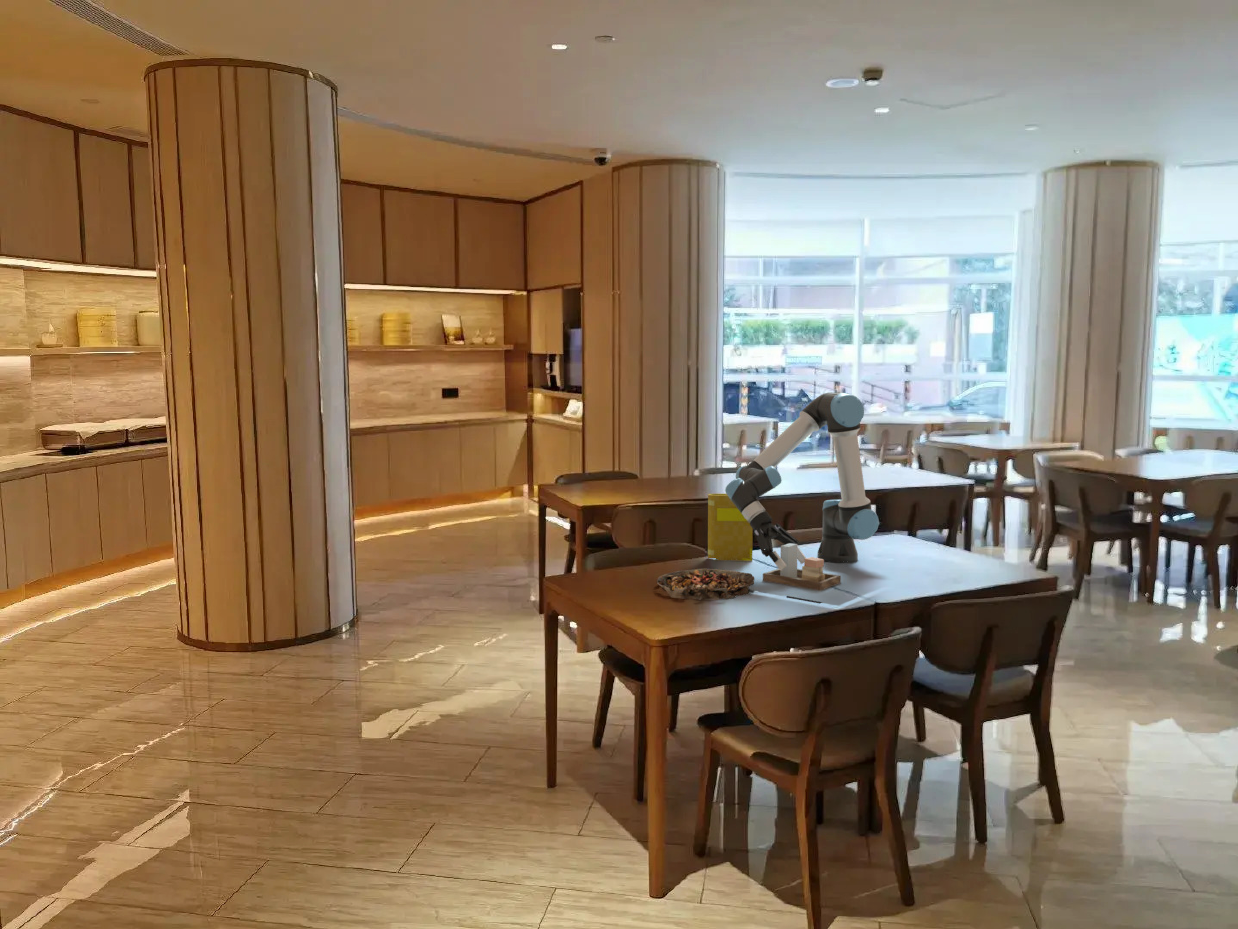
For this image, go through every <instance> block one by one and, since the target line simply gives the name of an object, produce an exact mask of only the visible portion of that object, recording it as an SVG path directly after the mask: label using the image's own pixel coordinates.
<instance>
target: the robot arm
mask: <svg viewBox="0 0 1238 929" xmlns="http://www.w3.org/2000/svg"><path fill="white" fill-rule="evenodd" d="M864 414H865V408H864V404H863V402H862V401H861V399H860V398H859V397H857V396H855V395H854V394H851V393H848V392H847V393H846V392H825V393H822V394H821V395H819V396H818V397H816V398H815V399H813V400H812V401H810V402H809V403H808V404H807V405H806V406H805V407H804V408H803V409H802V410H801V411H799V417H797V418H796V419H795V420H794V421H793V422H792V423H791V424H790V425H789V426H788V427H787V428H786V429H785V430H784V431H783V432H781V433H780V434H779V435H778V436H777V437H776V438H775V439H774V440H773V441H772V442H771V443H770V444H769V445H767V447H766V448H764V449H763V451H761V452H760V453H759V454H758V455H757V456H756V457H755V458H754V459H753V460H752V461H750V463H748V465H743V466H740V467H739V468H738V469H737V470H736V472H735V479H733V480H731V481H730V482H729V483H728V484H727V485H726V487H725V490H724V491H725V494H727V495H728V497H729V498H730V500H731V501H732V502H733V503H734V505H735V506H736V507H737V508H738V510H739V511H740V512H741V514H742V515H743V516H744V518H745V519H746V520H747V521H748V522H750V526H751V527H752V528H753V531H754V532H753V535H754V536H755V538H756V541H757V543H758V546H759V549H760V551H761V554H762V555H764V556H765V557H766V558H767V557H768V556H769V558H770V559H771V561H772V562H773V563H774V564H775V565H776V567H777V569H780V571H782V570H783V569H784V568H785V567H786V566H787V565H786V564H785V563H784V561H783V560H782V559H781V555H779V553H778V552H777V551H776V550H774V548H773V542H772V541H773V540H776V541H777V540H778V541H779V542H780V543H782V545H786V544H789V543H792V544H797V562H799V563H800V564H801V565H803V564H804V559H805V558H807V556H805V554H804V553H803V552H802V551H801V549H800V548H799V546H798V544H799V540H798V539H796V537H794V536H793V535H792V534H790V533H789V532H788V531H786V529H785V528H783V527H782V526H781V524H779V523H776V524H775V525H774V524H773V523H772V521H773V518H772V517H771V515H770V514H769V513H768V511H766V509H765V507H764V506H763V505H762V503H760V501H759V499H758V498H761V497H762V496H763V495H765V494H767V493H769V492H770V491H772V490H773V489H776V487H778V486H779V485H780V484H781V483H782V480H783V479H782V477H781V474H780V472H779V471H778V470H777V468H776V467H777V466H778V465H779V464H780V463H782V461H784V460H785V459H786V458H787V457H788V456H789V455H790V454H791V453H793V451H795V449H796V448H797V447H799V446H800V445H801V443H803V441H805V440H806V439H807V438H808V437H809V436H810V435H812V434H813V433H814V432H818V431H820V430H821V429H822V428H823V427H825V426H827V427H826V428H827V432H828V434H830V436H832V439H833V446H834V452H835V454H834V455H835V459H836V467H837V474H838V481H839V488H840V496H841V497H840V498H841V499H827V500H824V501H823V503H822V504H823V505H822V536H821V537H822V538H821V542H820V544H819V548H818V550H817V556H816V558H819V559H824V562H829V563H852V562H856V561H858V560H859V558H858V557H859V554H858V550H857V546H856V544H855V540H861V541H862V540H868V539H870V538H871V537H873V536H874V535H875V533H876V532H877V530H878V528H879V524H880V523H879V522H880V521H879V516H878V515H877V513H876V512H875V511H874V510H872V502H871V499H869V498H868V497H867V496H866V490H865V484H864V477H863V476H864V475H863V469H862V468H863V467H862V460H861V454H860V453H861V452H860V446H859V439H858V432H859V431H860V430H861V428H862V427H861V422H862V420H863V419H864V416H865V415H864Z"/></svg>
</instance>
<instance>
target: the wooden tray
mask: <svg viewBox="0 0 1238 929" xmlns="http://www.w3.org/2000/svg"><path fill="white" fill-rule="evenodd" d="M823 575H825V580H823V581H820V582H816V581H810V580H804V579H802V568H801V569H800V568H797V578H792V577H786V576H780V569H779V568H776V569H773V570H770V571H767V572H764V573H763V574H762V581H764V582H770V583H773V584H774V583H775V584H781V585H785V586H786V585H787V586H792V587H797V588H803V589H809V590H810V589H811V590H815V591H823V590H825V589H828V588H830V587H832V586H835V585H839V584H841V583H842V581H841V580H842V579H841V578H842V577H841V575H839V574H833V573H827V572H823Z"/></svg>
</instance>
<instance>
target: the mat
mask: <svg viewBox="0 0 1238 929" xmlns="http://www.w3.org/2000/svg"><path fill="white" fill-rule="evenodd" d="M786 598H787V599H792V600H798V601H803V602H809V603H815V604H822V603H823V602H822V601H816V600H813V599H812V600H811V599H807V598H801V597H795V596H790V595H786Z"/></svg>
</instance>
